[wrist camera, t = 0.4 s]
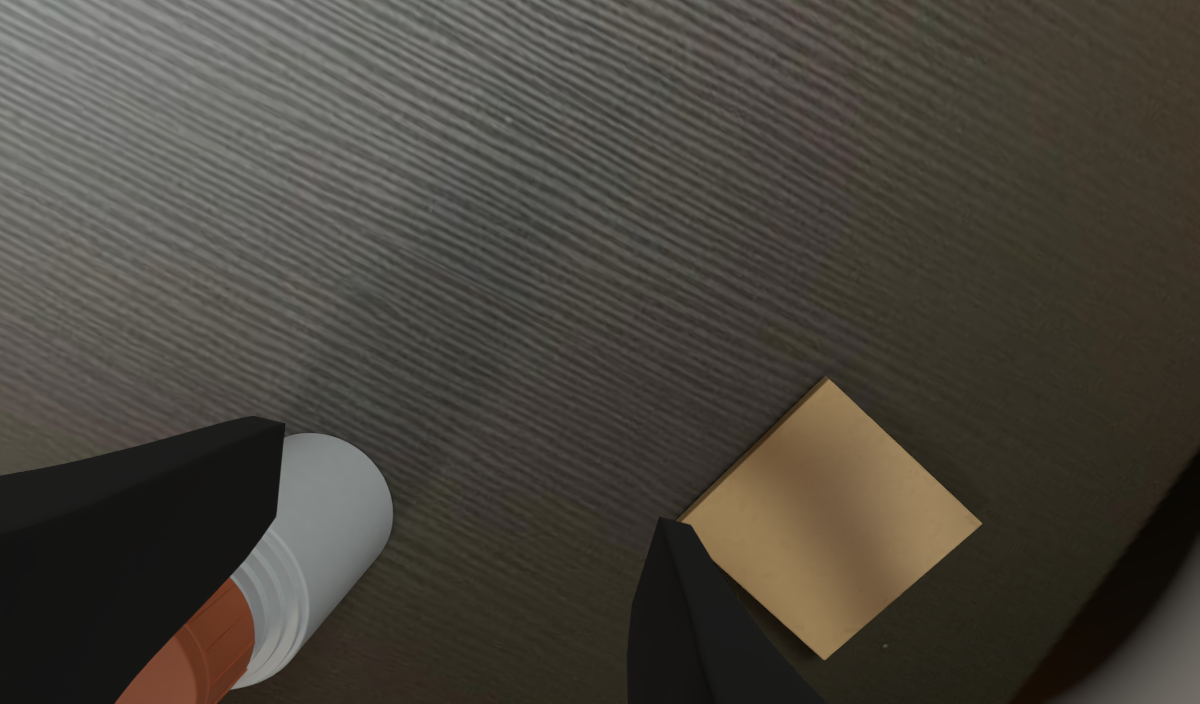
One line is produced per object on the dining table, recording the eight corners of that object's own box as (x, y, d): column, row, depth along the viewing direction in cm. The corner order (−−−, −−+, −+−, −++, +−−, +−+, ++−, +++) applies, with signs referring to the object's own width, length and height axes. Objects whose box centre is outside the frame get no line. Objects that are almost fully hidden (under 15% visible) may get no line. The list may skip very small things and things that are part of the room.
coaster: (820, 651, 25) (824, 661, 24) (674, 520, 25) (675, 527, 24) (974, 516, 24) (983, 524, 23) (824, 374, 23) (828, 379, 23)
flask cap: (194, 728, 18) (127, 800, 16) (67, 623, 18) (-20, 681, 16) (289, 624, 18) (234, 683, 15) (158, 512, 17) (80, 556, 15)
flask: (330, 607, 26) (150, 820, 17) (214, 508, 26) (-39, 668, 16) (425, 505, 25) (289, 670, 16) (305, 400, 25) (91, 503, 15)
